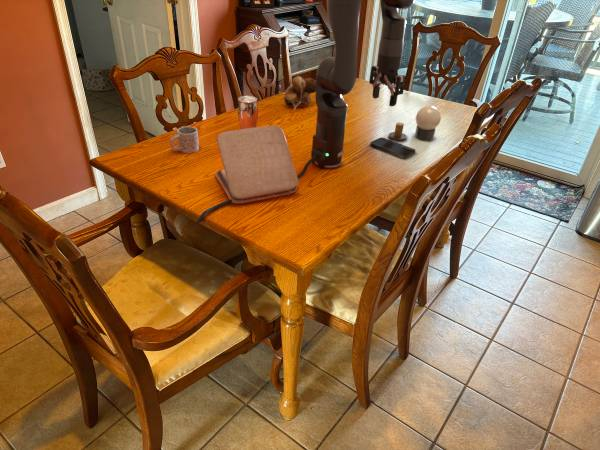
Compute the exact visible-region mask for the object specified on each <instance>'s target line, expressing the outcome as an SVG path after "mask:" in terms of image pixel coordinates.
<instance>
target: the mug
mask: <svg viewBox="0 0 600 450" xmlns="http://www.w3.org/2000/svg"><path fill="white" fill-rule="evenodd" d="M176 132H177V134H175V135H173V136H172V137H171V138H170V141H169V143H170V149H171V150H172V151H173V152H175V151H179V152H181V153H184V154H192V153H196V152H198V151H199V150H200V143H199V133H198V128H197V127H194V126H182V127H181V126H180V127H178V129H177V130H176ZM175 140H177V143H178V146H176V147H175V143H174V142H175Z"/></svg>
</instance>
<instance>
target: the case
mask: <svg viewBox="0 0 600 450" xmlns="http://www.w3.org/2000/svg"><path fill="white" fill-rule="evenodd" d="M216 142H217V146H218V150H219V154H220V158H221V162H222V166H223V168H222V169H219V170H217V171H216V172H215V177H216V179H217V181H218V182H219V184H220V186H221V187H222V189H223V191H224V192H225V195H226V196H227V198H228V200H232V203H231V204H236V205H241V204H247V203H252V202H258V201H262V200H268V199H272V198H278V197H282V196H288V195H293V194H295V193H296V192H297V190H298V189H297V188H298V185H299V178H297V175H298V174H297V171H296V168H295V165H294V162H293V158H292V155H291V150H290V148H289V145H288V141H287V138H286V134H285V131H284V130H283V129H282V127H280V126H278V125H267V126H256V127H255V128H246V129H241V128H240V129H235V130H226V131H223V132H220V133H219V134H218V135H217V138H216Z"/></svg>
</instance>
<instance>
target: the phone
mask: <svg viewBox="0 0 600 450" xmlns="http://www.w3.org/2000/svg"><path fill="white" fill-rule="evenodd" d="M369 147H372V148H374V149H376V150H378V151H382V152H385V153H387V154H389V155H392V156H395V157H397V158H400V159H404V160H406V159H408V158H410V157H412V156H413V155H415V154H416V149H415V148H413V147H410V146H407V145H405V144H402V143H399V142H397V141H393V140H391V139H389V138H385V137H379V138H377V139H374V140H372V141H370V144H369Z"/></svg>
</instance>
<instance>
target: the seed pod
mask: <svg viewBox="0 0 600 450" xmlns="http://www.w3.org/2000/svg"><path fill="white" fill-rule="evenodd" d="M315 93H316V79H314V78H312V77H308V78H303V77H302V76H299V75H297V76H294V77H293V78H292V82H291V85H289V86H288V87H287V88H286V89H285V91H284V97H283V101H284V103H285V105H286V106H288V107H293V111H296V109H297V107H298V106H301V107H302V108H304V107H308V106H310V104H311V102H312V101H311V100H312V97H311V94H315Z"/></svg>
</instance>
